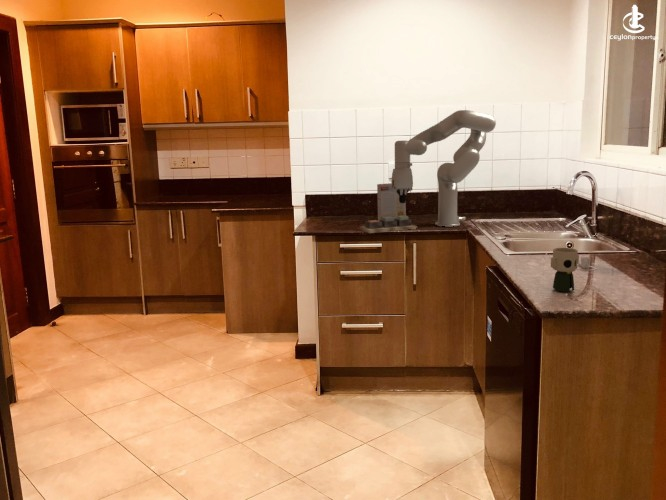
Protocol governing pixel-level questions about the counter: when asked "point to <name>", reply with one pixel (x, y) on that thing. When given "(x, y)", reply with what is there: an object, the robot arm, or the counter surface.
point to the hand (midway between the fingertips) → (402, 202)
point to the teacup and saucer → (585, 263)
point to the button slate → (388, 218)
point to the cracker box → (389, 202)
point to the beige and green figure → (564, 268)
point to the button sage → (403, 217)
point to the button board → (387, 226)
